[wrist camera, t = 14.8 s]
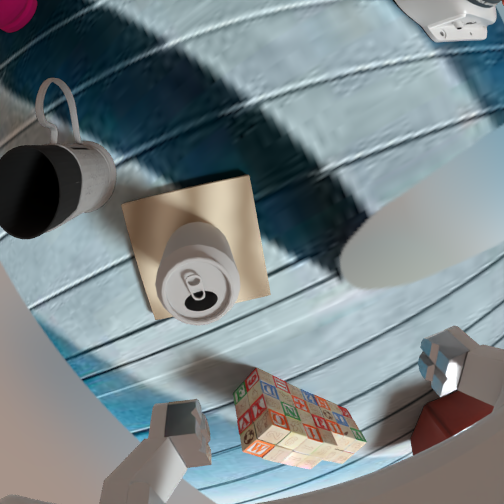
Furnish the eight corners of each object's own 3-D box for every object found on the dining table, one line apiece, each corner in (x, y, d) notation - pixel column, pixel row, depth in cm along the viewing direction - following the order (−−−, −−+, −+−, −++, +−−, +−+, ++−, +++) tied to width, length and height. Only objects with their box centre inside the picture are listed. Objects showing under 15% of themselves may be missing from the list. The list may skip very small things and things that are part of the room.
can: (176, 288, 39) (169, 341, 27) (158, 229, 36) (140, 263, 25) (236, 272, 39) (251, 320, 28) (220, 212, 37) (230, 239, 25)
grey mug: (51, 210, 35) (-15, 241, 20) (62, 97, 31) (-3, 75, 17) (113, 215, 36) (67, 252, 22) (127, 98, 32) (85, 66, 18)
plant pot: (416, 396, 55) (460, 448, 39) (476, 372, 58) (519, 412, 42) (394, 451, 61) (424, 499, 45) (451, 427, 63) (484, 466, 48)
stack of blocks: (347, 407, 52) (375, 455, 40) (325, 429, 53) (347, 477, 41) (255, 366, 46) (272, 425, 34) (231, 393, 47) (241, 453, 35)
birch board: (247, 174, 37) (249, 175, 36) (268, 290, 42) (270, 294, 41) (124, 203, 36) (121, 205, 35) (156, 314, 41) (155, 320, 39)
